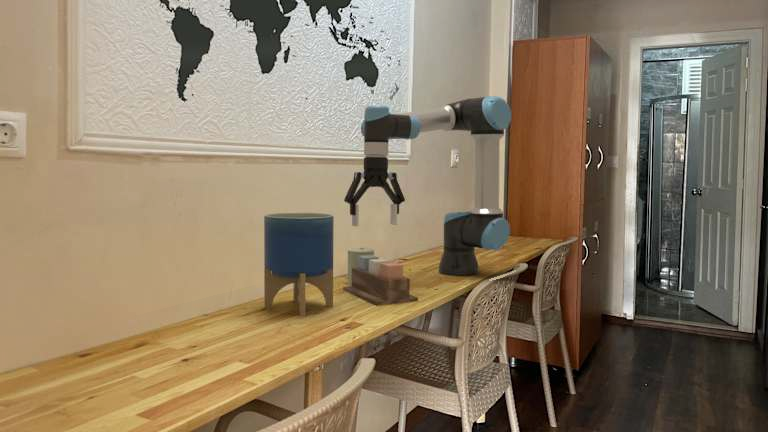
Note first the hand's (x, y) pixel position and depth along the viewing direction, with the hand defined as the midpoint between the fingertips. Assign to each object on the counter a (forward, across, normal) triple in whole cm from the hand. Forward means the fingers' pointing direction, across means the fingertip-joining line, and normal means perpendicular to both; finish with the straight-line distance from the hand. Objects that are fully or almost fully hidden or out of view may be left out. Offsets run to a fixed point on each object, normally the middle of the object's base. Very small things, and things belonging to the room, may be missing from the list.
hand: (374, 225), depth 191 cm
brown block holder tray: (+22, -1, +2) cm, 22 cm away
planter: (+22, +27, +6) cm, 36 cm away
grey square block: (+17, -1, -6) cm, 18 cm away
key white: (+17, -1, +2) cm, 17 cm away
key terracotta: (+17, -1, +10) cm, 20 cm away
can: (+22, -5, -18) cm, 29 cm away
